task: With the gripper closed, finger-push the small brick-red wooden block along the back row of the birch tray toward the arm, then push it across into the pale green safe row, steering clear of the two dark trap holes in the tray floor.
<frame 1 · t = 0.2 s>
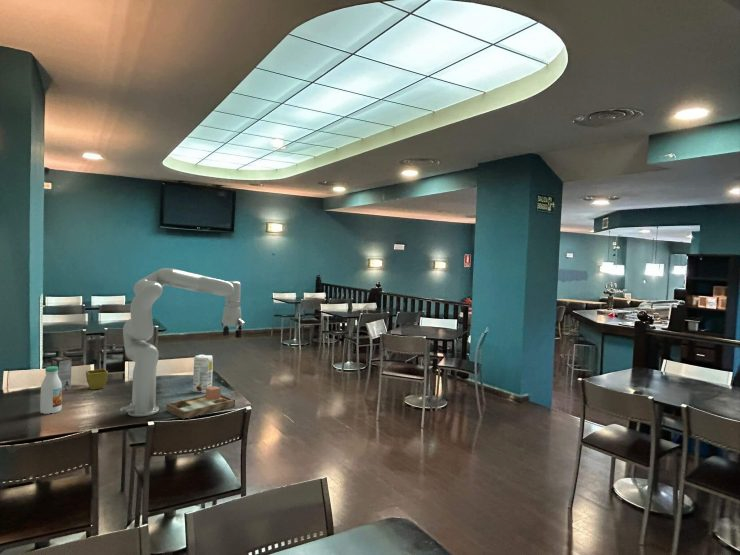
hand: (232, 336, 235), 30 cm above the table, tool pointing down, fingers open, 9 cm apart
tray: (201, 408, 210), on the table
juice carton: (202, 391, 237), on the table
coffee box: (60, 388, 231), on the table
flower pot: (96, 388, 234), on the table
milk bottle: (50, 411, 197), on the table
block: (212, 398, 218), point 2 cm above the table, touching tray
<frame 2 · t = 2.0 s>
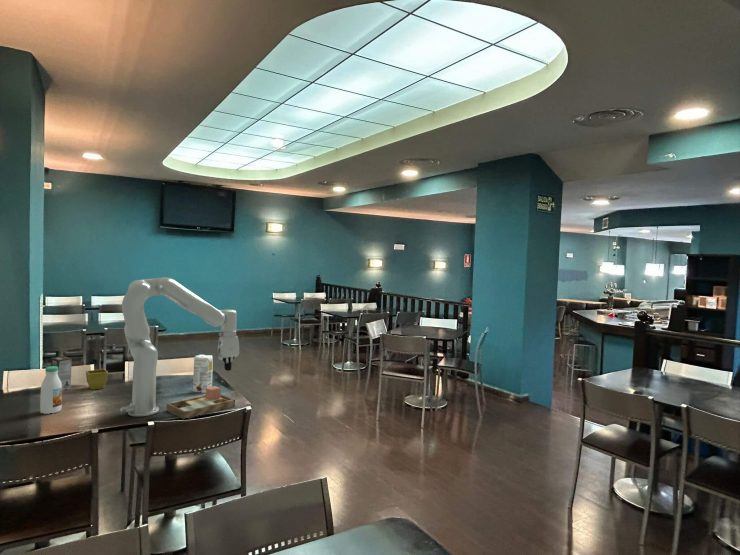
hand: (227, 369, 224), 15 cm above the table, tool pointing down, fingers closed
nothing on the table moved.
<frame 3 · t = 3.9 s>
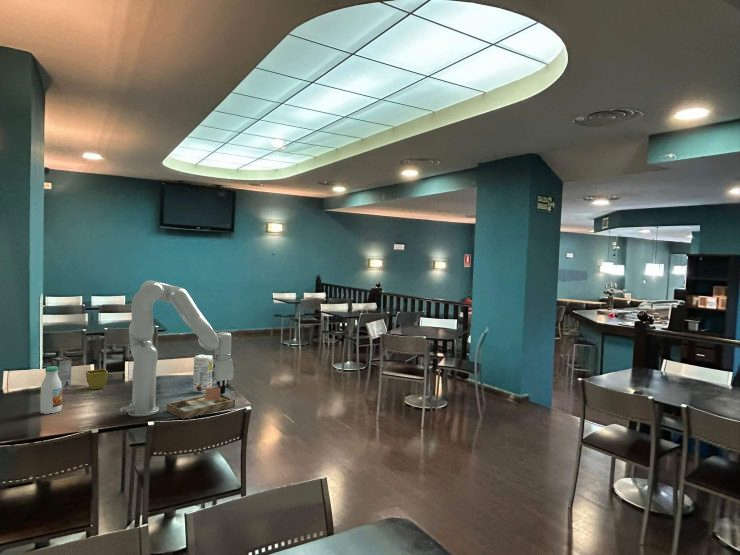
hand: (221, 393, 222), 4 cm above the table, tool pointing down, fingers closed
block: (212, 398, 218), point 3 cm above the table, touching gripper
everything else where it was.
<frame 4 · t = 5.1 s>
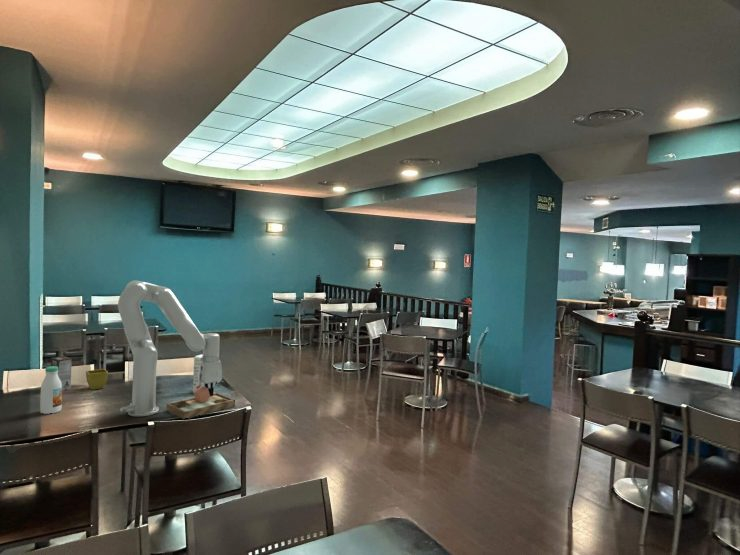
hand: (209, 395, 217), 4 cm above the table, tool pointing down, fingers closed
block: (203, 398, 214), point 3 cm above the table, tilted 19°, touching gripper
everything else where it was.
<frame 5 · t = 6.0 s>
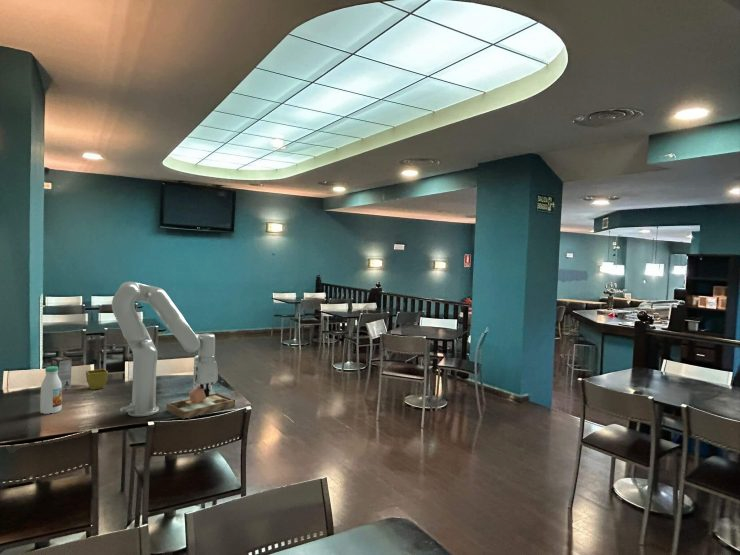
hand: (205, 396, 215), 4 cm above the table, tool pointing down, fingers closed
block: (198, 399, 212), point 3 cm above the table, tilted 20°, touching gripper, tray
everything else where it was.
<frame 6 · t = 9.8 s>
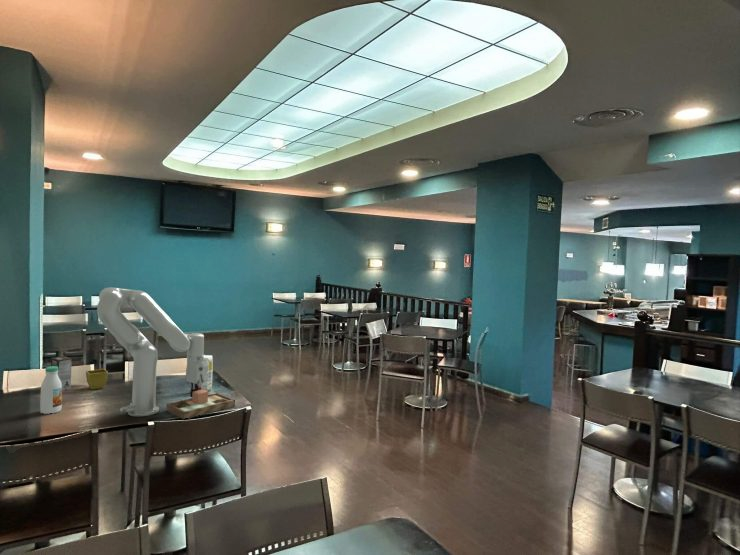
hand: (194, 396, 214), 4 cm above the table, tool pointing down, fingers closed
block: (199, 402, 211), point 3 cm above the table, touching gripper
everything else where it was.
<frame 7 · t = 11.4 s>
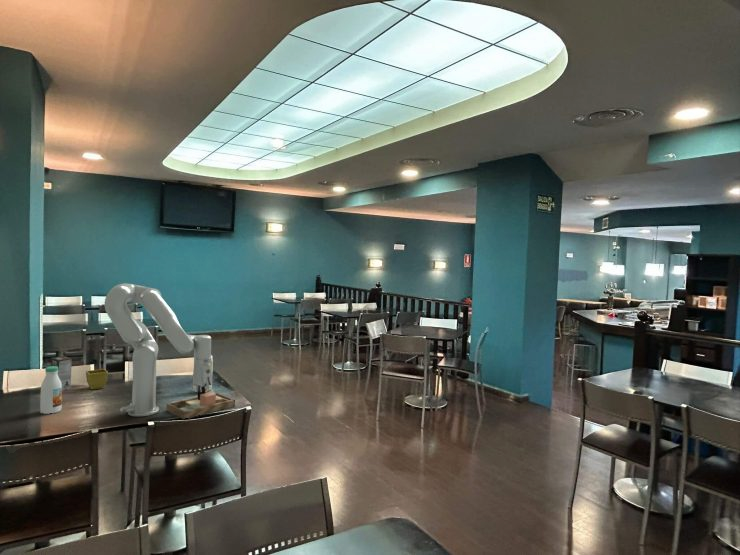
hand: (201, 399, 210), 4 cm above the table, tool pointing down, fingers closed
block: (207, 405, 207), point 2 cm above the table, touching gripper, tray
everything else where it was.
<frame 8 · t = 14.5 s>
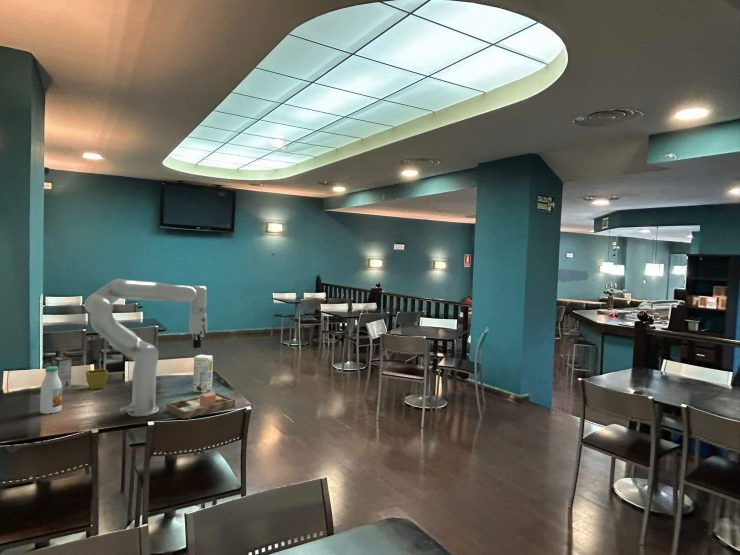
hand: (196, 347, 218), 27 cm above the table, tool pointing down, fingers closed
block: (207, 405, 207), point 2 cm above the table, touching tray
everything else where it was.
at the end: block inside the target area on the tray (4.4 cm from its centre), point 2.5 cm above the tray's base; block tilted 0°; block moved 10.6 cm from its start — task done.
